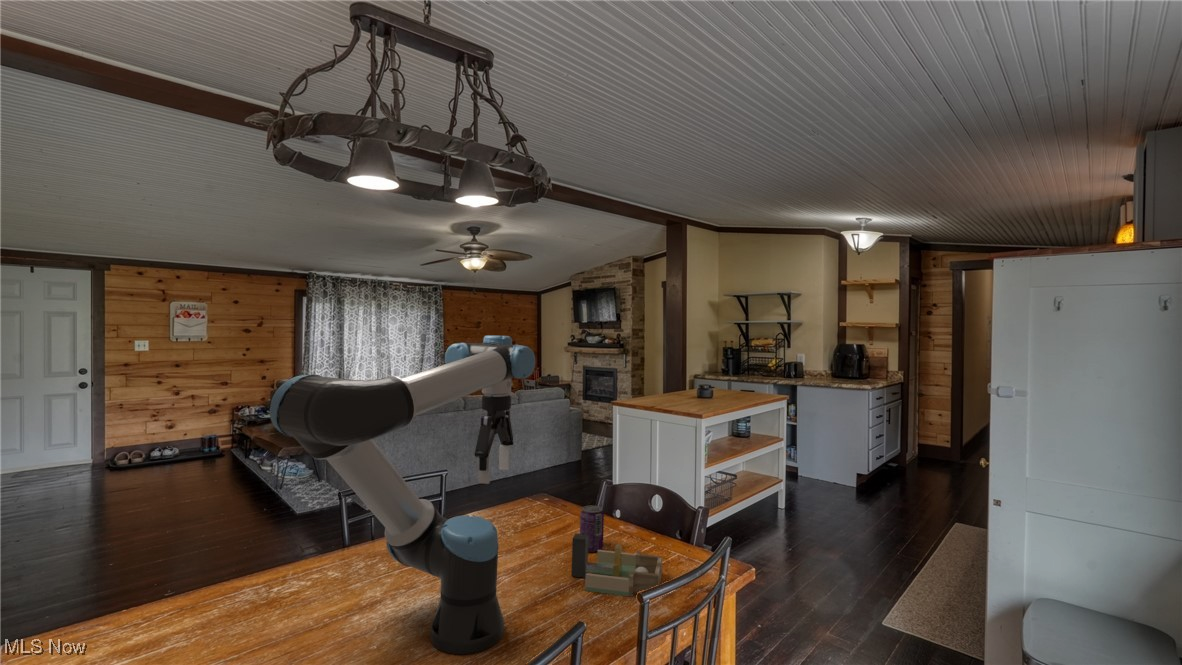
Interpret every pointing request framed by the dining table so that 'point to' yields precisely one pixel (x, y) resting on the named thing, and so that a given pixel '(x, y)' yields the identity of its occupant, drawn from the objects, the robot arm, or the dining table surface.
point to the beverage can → (592, 526)
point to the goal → (642, 579)
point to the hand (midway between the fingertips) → (494, 476)
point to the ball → (641, 569)
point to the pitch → (609, 582)
